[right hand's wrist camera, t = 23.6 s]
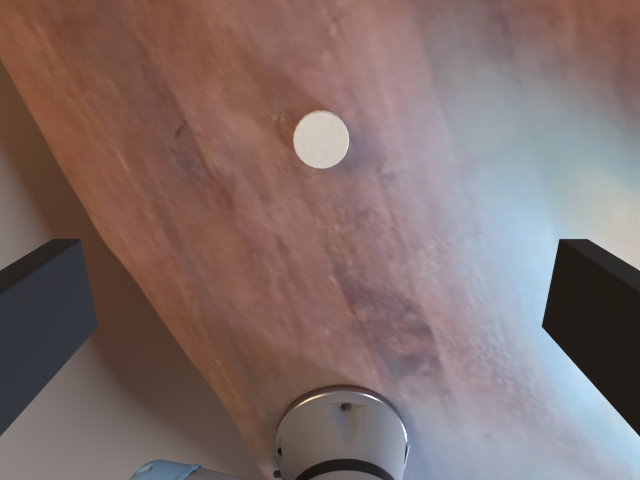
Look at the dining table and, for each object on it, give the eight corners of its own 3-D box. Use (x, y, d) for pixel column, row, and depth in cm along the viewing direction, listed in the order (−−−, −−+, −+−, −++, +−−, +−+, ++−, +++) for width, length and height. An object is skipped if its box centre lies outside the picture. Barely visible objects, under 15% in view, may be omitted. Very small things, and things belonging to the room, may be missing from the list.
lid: (336, 100, 39) (337, 102, 37) (355, 152, 41) (357, 157, 38) (285, 121, 40) (283, 124, 37) (306, 172, 41) (305, 177, 39)
